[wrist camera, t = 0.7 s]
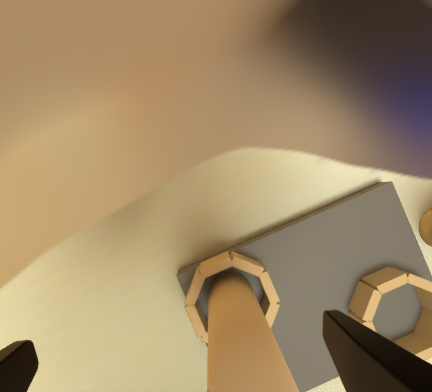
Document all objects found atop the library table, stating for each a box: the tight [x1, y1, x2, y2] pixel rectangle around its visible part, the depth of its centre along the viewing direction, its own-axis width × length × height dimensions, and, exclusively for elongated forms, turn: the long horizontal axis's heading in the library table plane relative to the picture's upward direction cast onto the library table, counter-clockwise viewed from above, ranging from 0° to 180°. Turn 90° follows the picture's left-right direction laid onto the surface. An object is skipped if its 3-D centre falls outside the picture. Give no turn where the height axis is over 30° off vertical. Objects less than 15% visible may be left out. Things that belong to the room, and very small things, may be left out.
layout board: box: [177, 182, 432, 392], centre depth 16 cm, size 15×22×14 cm
